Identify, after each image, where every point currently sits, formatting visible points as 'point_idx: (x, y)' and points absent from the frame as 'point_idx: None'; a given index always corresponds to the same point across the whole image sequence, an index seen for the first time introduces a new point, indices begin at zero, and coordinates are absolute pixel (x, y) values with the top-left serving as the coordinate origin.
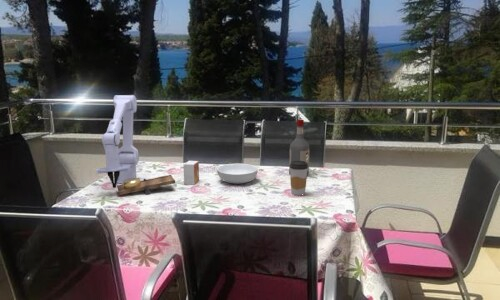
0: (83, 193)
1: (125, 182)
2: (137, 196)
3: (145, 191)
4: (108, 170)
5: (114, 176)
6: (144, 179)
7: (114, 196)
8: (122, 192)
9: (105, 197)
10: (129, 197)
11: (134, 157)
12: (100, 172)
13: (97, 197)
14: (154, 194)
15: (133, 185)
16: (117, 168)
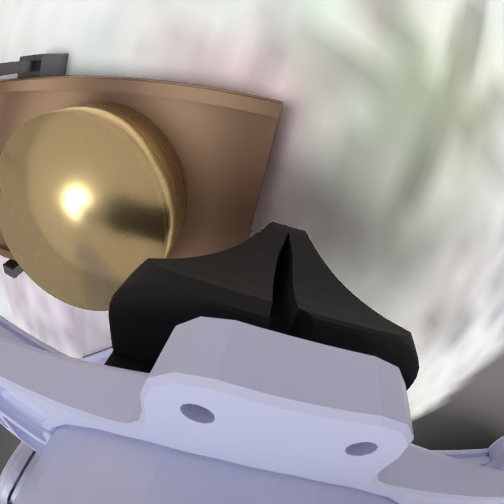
0: (453, 362)
1: (131, 202)
2: (127, 38)
3: (48, 74)
4: (424, 471)
5: (269, 290)
6: (10, 266)
7: (317, 150)
8: (235, 93)
9: (400, 176)
10: (195, 37)
11: (6, 477)
12: (475, 461)
13: (449, 224)
14: (28, 50)
15: (77, 106)
16: (77, 439)
